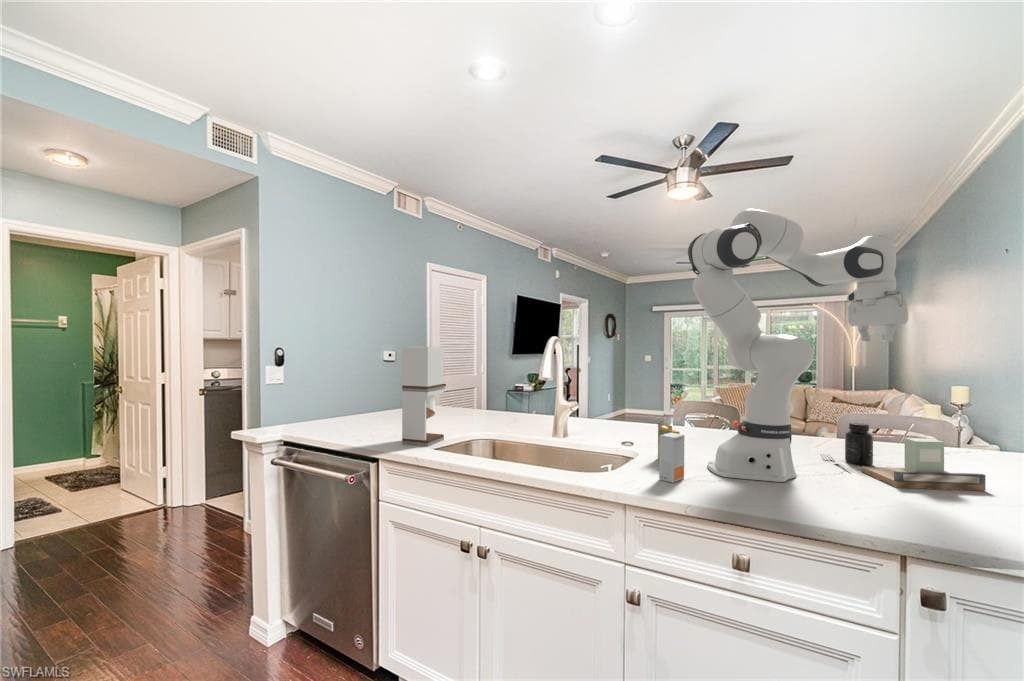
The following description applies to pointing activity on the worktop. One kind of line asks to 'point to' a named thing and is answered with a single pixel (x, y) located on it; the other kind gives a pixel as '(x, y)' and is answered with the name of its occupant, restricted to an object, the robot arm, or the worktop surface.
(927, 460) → the carton
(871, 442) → the supplement bottle
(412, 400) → the coffee grinder
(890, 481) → the shelf board
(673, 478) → the skincare box
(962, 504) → the worktop surface
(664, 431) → the crayon box
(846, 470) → the fork
